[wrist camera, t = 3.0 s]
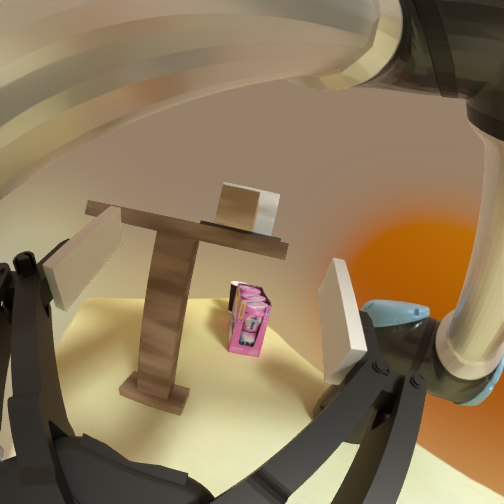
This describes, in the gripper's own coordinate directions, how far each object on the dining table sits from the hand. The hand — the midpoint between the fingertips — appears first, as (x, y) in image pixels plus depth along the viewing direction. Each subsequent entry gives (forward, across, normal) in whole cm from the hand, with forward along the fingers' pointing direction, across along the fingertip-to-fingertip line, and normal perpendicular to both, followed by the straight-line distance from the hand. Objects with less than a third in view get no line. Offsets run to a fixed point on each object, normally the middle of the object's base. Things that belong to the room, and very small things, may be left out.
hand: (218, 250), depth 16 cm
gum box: (+36, +5, -51) cm, 63 cm away
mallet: (+15, 0, -7) cm, 17 cm away
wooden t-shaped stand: (+7, -8, -34) cm, 36 cm away
